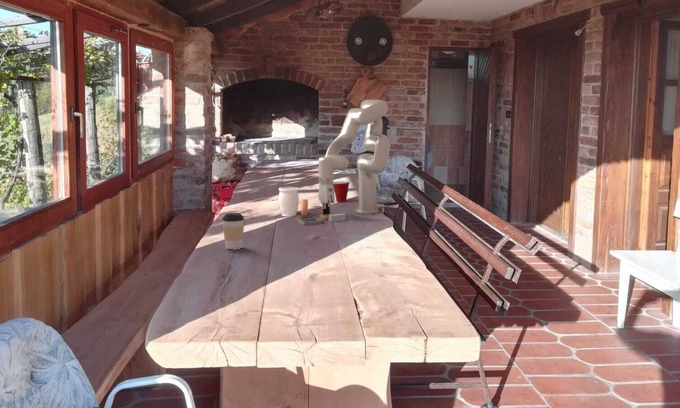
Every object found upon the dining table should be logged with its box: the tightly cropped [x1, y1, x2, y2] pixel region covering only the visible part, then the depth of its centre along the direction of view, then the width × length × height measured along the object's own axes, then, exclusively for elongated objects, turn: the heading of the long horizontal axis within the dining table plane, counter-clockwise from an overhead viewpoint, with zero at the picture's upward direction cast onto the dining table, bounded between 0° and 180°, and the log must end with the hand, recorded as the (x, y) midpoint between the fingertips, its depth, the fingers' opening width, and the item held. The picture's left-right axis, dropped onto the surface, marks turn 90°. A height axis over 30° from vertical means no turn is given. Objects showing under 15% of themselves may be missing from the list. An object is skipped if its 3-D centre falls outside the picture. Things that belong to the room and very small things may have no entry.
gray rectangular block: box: [328, 213, 347, 223], centre depth 338 cm, size 8×3×4 cm, turn 117°
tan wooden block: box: [318, 213, 333, 222], centre depth 344 cm, size 8×8×3 cm
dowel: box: [300, 198, 309, 217], centre depth 341 cm, size 3×3×10 cm
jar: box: [278, 186, 300, 217], centre depth 353 cm, size 11×10×15 cm
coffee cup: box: [222, 212, 245, 250], centre depth 284 cm, size 9×9×15 cm
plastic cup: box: [333, 180, 351, 203], centre depth 398 cm, size 11×11×12 cm
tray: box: [296, 216, 325, 226], centre depth 333 cm, size 10×9×2 cm
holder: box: [295, 213, 313, 221], centre depth 342 cm, size 8×8×3 cm
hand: (326, 216), depth 349 cm, fingers closed
